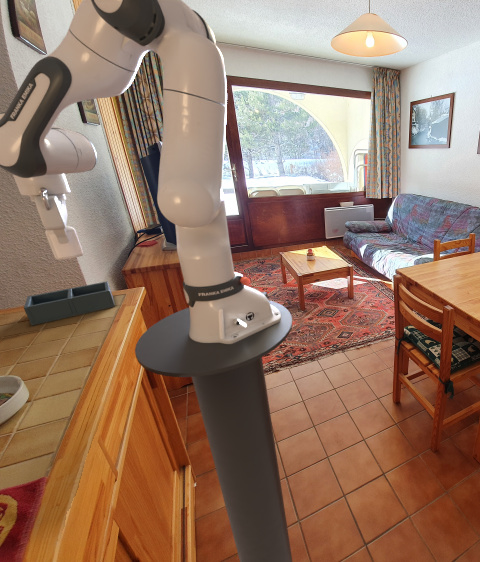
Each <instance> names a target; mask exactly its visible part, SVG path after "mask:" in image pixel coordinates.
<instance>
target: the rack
mask: <svg viewBox="0 0 480 562" xmlns="http://www.w3.org/2000/svg"><path fill="white" fill-rule="evenodd" d="M115 307H116V305H115V300H114V296H113V293H112V289H111V286H110V285H109V282H108V281H102V282H101V281H100V282H96V283H92V284H86V285H80V286H76V287H71V288H64V289H59V290H54V291H50V292H44V293H39V294H33V295H27V297H26V300H25V303H24V306H23V310H24V312H25V315H26V316H27V318H28V320H29V322H30V325H31V326H37V325H42V324H46V323H49V322H54V321H58V320H59V321H60V320H63V319H66V318H67V319H68V318H72V317H75V316H79V315H83V314H84V315H85V314H89V313H93V312H98V311H101V310H102V311H103V310H106V309H111V308H115Z"/></svg>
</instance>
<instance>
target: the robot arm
mask: <svg viewBox="0 0 480 562" xmlns="http://www.w3.org/2000/svg"><path fill="white" fill-rule="evenodd" d="M150 51H151V52H153V53H155V54H157V56H158V57H159V59H160V60H161V63H162V68H163V69H162V72H163V74H162V76H163V77H162V118H163V119H162V126H163V127H162V143H161V151H160V157H159V158H160V159H159V167H158V169H159V171H158V180H157V181H158V182H157V183H158V184H157V196H156V201H157V206H158V208H159V211H160V213H161V214H162V215H163V217H164V218H165V219H166V220H167V221H169V222H170V223H172V224H173V225H174V227H175V236H176V237H175V238H176V252H177V256H178V262H179V265H180V269H181V274H182V277H183V281H182V287H183V288H182V290H183V294H184V297H185V301H186V303H187V305H188V308H189V310H190V331H189V336H190V338H191V339H192V340H194V341H197V342H201V343H224V344H233V343H235V342H237V341H239V340H242V339H244V338H246V337H248V336H250V335H252V334H254V333H257V332H259V331H261V330H263V329H265V328H267V327H269V326H271V325H274V324H276V323H278V322H280V321H281V314H280V312H279V310H278V309H277V308H276V307H274V306H273V305H271V304H270V303H269V301H268V300H269V296H268V292H267V291H260V290H258V289H256V288H253V287H250V286H249V285H250V284H251V279H250V278H249V277H248V276H244V275H243V274H242V273H239V272H237V271H235V269H234V262H233V256H232V249H231V243H230V235H229V228H228V219H227V213H226V206H225V197H224V192H223V189H222V182H223V171H224V170H223V169H224V158H225V145H226V125H227V104H228V103H227V102H228V101H227V100H228V93H227V90H228V89H227V87H228V86H227V76H226V74H227V73H226V67H225V61H224V56H223V54H222V52H221V50H220V48H219V47H218V46H217V42H216V38H215V34H214V31H213V30H212V28H211V26H210V25H209V23H208V22H207V21H206V20H205V19H204V17H202V15H200V13H199V12H197V11H195V10H194V9H192V8H191V7H190V6H189V5H187V3H186V2H184V1H183V0H82V1H81V2H80V4H79V5H78V7H77V9H76V11H75V12H74V15H73V16H72V19H71V22H70V24H69V27H68V29H67V32H66V34H65V36H64V37H63V39H62V41H61V42H60V43H59V45H57V47H56V48H55V49H54V50H53V51H52V52H51V53H50V54H48V55H47V56H44V57H43V58H41V59H40V60H38V61H37V62H36V63H35V64H34V65H33V67H31V69H30V70H29V72H28V74H27V75H26V77H25V78H24V80H23V81H22V83H21V85H20V86H19V88H18V90H17V92H16V94H15V96H14V97H13V99H12V101H11V102H10V104H9V106H8V107H7V109H6V111H4V112H0V168H1V169H3V170H4V171H6V172H8V173H9V174H11V175H12V176H13V179H14V181H15V183H16V186H17V188H18V191H19V193H20V195H21V196H27V197H29V199H30V202H33V203H35V207H36V210H37V212H38V216H39V218H40V220H41V223H42V226H43V228H44V229H45V231H46V230H48V231H50V230H53V232H54V234H55V235H56V237H57V239H58V242H59V243H60V244H65V243H68V241H69V240H68V238H67V235H66V232H65V228H66V226H67V224H68V223H67V222H68V218H69V217H68V216H69V215H68V208H67V205H66V204H67V203H66V200H67V197H66V194H69V193H71V189H70V186H69V183H68V180H67V178H66V175H69V174H80V173H86V172H90V171H92V170H94V168H95V167H96V165H97V163H98V162H97V161H98V155H97V151H96V148H95V146H94V144H93V142H91V140H90V139H89V138H88V137H86V136H85V135H84V134H82V133H80V132H78V131H74V130H70V129H67V128H64V127H61V126H59V125H55V123H56V121H57V120H58V118H59V116H60V115H61V114H62V112H63V111H64V110H65V109H66V108H68V107H70V106H71V105H74V104H76V103H79V102H80V103H81V102H83V101H90V100H96V99H108V98H114V97H118V96H120V95H122V94H123V93H124V92H126V91H127V89H129V87H130V86H131V85H132V83H133V81H134V80H135V77H136V75H137V73H138V70H139V68H140V65H141V63H142V60H143V58H144V56H145V55H146V54H147V53H148V52H150Z"/></svg>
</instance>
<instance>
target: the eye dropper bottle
mask: <svg viewBox="0 0 480 562" xmlns="http://www.w3.org/2000/svg"><path fill="white" fill-rule="evenodd" d="M65 232H66V235H67V238H68V240H69V241H68V243H65V244H60V243H59V242H58V239H57V237H56V235H55V234H54V232H53V230H50V231H48V230H46V229H45V231H44V234H45V236H46V239H47V242H48V245H49V247H50V250H51V252H52V254H53V257H54V259H56V260H58V261H64V260H65V261H66V260H70V259H76V258H79V257H82V256H84V255H85V253H84V251H83V248H82V244H81V242H80V240H79V236H78V233H77V231H76V229H75V227H72V226H70V225H66V228H65Z"/></svg>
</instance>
